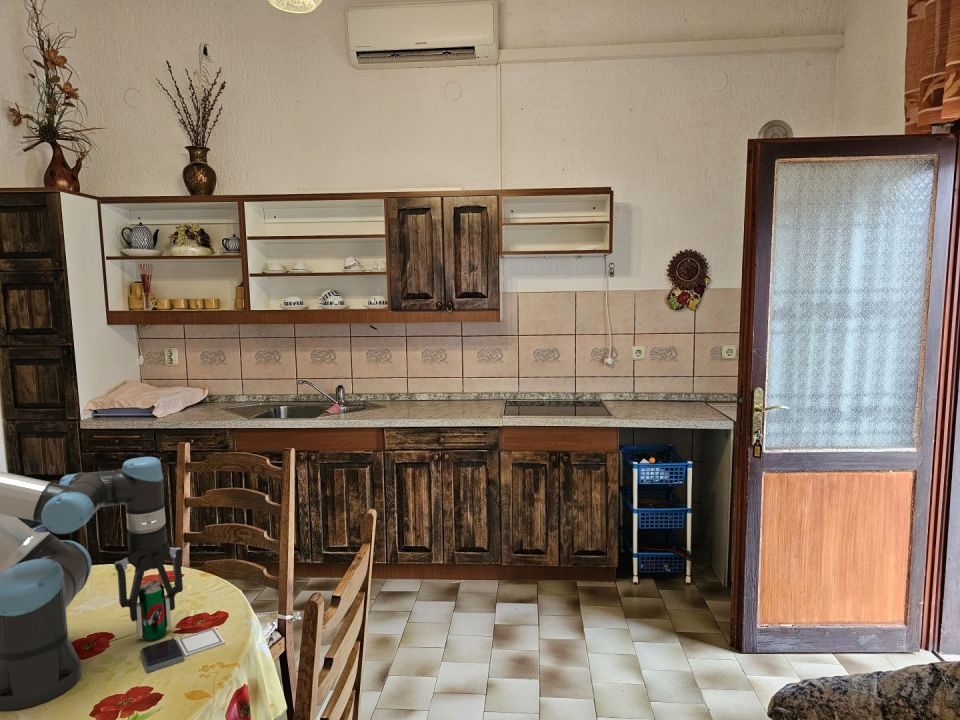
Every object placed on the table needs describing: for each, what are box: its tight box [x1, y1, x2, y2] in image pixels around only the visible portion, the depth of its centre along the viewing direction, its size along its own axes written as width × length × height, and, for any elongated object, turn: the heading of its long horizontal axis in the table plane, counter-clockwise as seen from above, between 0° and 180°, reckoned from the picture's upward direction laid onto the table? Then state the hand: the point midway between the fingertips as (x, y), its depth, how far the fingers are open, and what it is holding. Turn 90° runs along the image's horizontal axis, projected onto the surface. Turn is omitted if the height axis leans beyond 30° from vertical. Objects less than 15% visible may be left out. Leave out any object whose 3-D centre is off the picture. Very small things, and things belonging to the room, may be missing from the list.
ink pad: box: [139, 637, 185, 674], centre depth 132 cm, size 7×8×2 cm
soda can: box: [138, 580, 168, 642], centre depth 141 cm, size 5×5×12 cm
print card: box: [176, 627, 226, 658], centre depth 138 cm, size 8×8×1 cm
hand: (154, 628), depth 141 cm, fingers closed on soda can, 5 cm apart
